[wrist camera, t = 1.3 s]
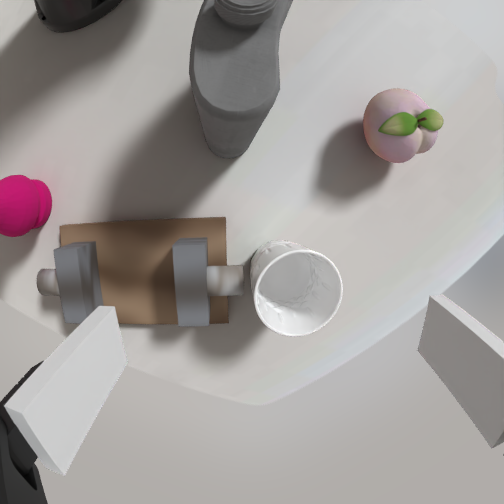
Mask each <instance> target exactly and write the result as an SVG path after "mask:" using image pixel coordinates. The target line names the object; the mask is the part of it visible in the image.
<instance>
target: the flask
mask: <svg viewBox="0 0 504 504" xmlns="http://www.w3.org/2000/svg"><path fill="white" fill-rule="evenodd" d="M292 1H293V0H204V2H203V4H202V6H201V9H200V12H199V15H198V18H197V21H196V24H195V28H194V33H193V37H192V44H191V51H190V65H189V75H190V80H191V86H192V90H193V94H194V98H195V102H196V105H197V109H198V113H199V117H200V120H201V124H202V128H203V131H204V135H205V139H206V142H207V144H208V146H209V149H210V150H211V151H212V152H213V153H214V154H215V155H217V156H220V157H223V158H234V157H237V156H240V155H242V154H243V153H244V152H245V151H246V150H247V149H248V147H249V145H250V144H251V142H252V140H253V138H254V137H255V135H256V133H257V132H258V130H259V128H260V126H261V125H262V123H263V121H264V119H265V118H266V116H267V114H268V113H269V111H270V109H271V108H272V106H273V104H274V102H275V100H276V97H277V95H278V92H279V90H280V77H279V56H278V50H279V37H280V31H281V28H282V26H283V23H284V21H285V18H286V16H287V13H288V11H289V9H290V6H291V4H292Z"/></svg>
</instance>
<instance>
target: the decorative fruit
mask: <svg viewBox="0 0 504 504" xmlns="http://www.w3.org/2000/svg"><path fill="white" fill-rule="evenodd" d="M442 125H443V118H442V116H441V115H440V114H439V113H438V112H437V111H435V110H432V109H430V108H429V107H428V105H427V104H426V103H425V102H424V101H423V100H422V99H421V98H420V97H419V96H418V95H417V94H415V93H413V92H411V91H408V90H405V89H389V90H386V91H383V92H380V93H378V94H377V95H375V96H374V97H373V98H372V99H371V100H370V102H369V103H368V105H367V107H366V110H365V113H364V119H363V127H364V135H365V138H366V141H367V143H368V145H369V147H370V148H371V149H372V151H373V152H374V153H375V154H376V155H378V156H379V157H380V158H382V159H384V160H386V161H389V162H393V163H402V162H406V161H408V160H410V159H411V158H412V157H413V156H414V155H415V154H419V153H424V152H426V151H428V150H429V149H430V148H431V147H432V146H433V145H434V143H435V141H436V139H437V134H438V130H439V129H440V128H441V127H442Z"/></svg>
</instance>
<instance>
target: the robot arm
mask: <svg viewBox="0 0 504 504" xmlns="http://www.w3.org/2000/svg"><path fill="white" fill-rule="evenodd" d="M121 1H122V0H34V2H35V6H36V9H37V13H38V16H39V19H40V20H41V22H42V23H43V24H44V25H45V26H47V27H48V28H49V29H50V30H52V31H56V32H67V31H72V30H76V29H79V28H82V27H84V26H86V25H89V24H91V23H93V22H94V21H96V20H98V19H99V18H101V17H103V16H104V15H106V14H107V13H108V12H110V11H111V10H112V9H113V8H114V7H116V6H117V5H118V4H119V3H120V2H121ZM418 351H419V353H420V354H421V355H422V356H423V358H424V359H425V360H426V361H427V363H428V364H429V365H430V366H431V368H432V369H433V370H434V371H435V373H436V374H437V375H438V376H439V378H440V379H441V380H442V381H443V383H444V384H445V385H446V386H447V388H448V389H449V391H450V392H451V393H452V394H453V396H454V397H455V398H456V400H457V401H458V402H459V404H460V405H461V406H462V408H463V409H464V410H465V412H466V413H467V414H468V416H469V417H470V419H471V420H472V421H473V423H474V424H475V425H476V427H477V428H478V430H479V431H480V432H481V434H482V435H483V437H484V438H485V440H486V441H487V442H488V444H489V445H490V447H491V448H494V447H495V446H497V445H499V444H501V443H503V442H504V342H503V341H502V340H501V339H499V338H498V337H497V336H496V335H494V334H493V333H492V332H491V331H489V330H488V329H487V328H486V327H485V326H483V325H482V324H481V323H480V322H478V321H477V320H476V319H475V318H473V317H472V316H471V315H469V314H468V313H467V312H465V311H464V310H463V309H462V308H460V307H459V306H458V305H456V304H455V303H454V302H452V301H451V300H450V299H448V298H447V297H446V296H444V295H435V296H430V298H429V303H428V309H427V313H426V318H425V322H424V326H423V331H422V335H421V339H420V343H419V347H418ZM127 363H128V359H127V356H126V352H125V348H124V344H123V340H122V336H121V332H120V328H119V324H118V319H117V315H116V310H115V306H98V307H97V308H96V309H95V310H94V311H93V312H92V313H91V314H90V315H89V316H88V317H87V318H86V319H85V320H84V321H83V322H82V323H81V324H80V325H79V326H78V327H77V328H76V329H75V330H74V331H73V332H72V333H71V334H70V335H69V336H68V337H67V338H66V339H65V340H64V341H63V342H62V343H61V344H60V345H59V346H58V347H57V348H56V349H55V350H54V351H53V352H52V353H51V354H50V355H49V357H48V358H47V359H46V360H45V361H42V362H40V363H39V364H37V365H35V366H34V367H32V368H31V369H30V370H29V371H28V372H27V373H26V374H25V375H24V378H22V379H21V380H20V381H19V382H18V384H16V385H15V386H14V388H13V389H12V390H11V391H10V392H9V393H8V394H7V395H6V397H4V398H3V400H2V401H1V402H0V504H48V503H47V500H46V497H45V493H44V490H43V486H42V483H41V479H40V475H39V471H38V469H37V467H36V465H35V464H34V462H35V461H36V459H37V458H39V459H40V461H41V462H42V463H43V465H44V466H45V467H46V468H47V469H49V470H51V471H54V472H56V473H59V474H62V475H65V474H66V472H67V470H68V468H69V466H70V464H71V463H72V461H73V459H74V457H75V455H76V453H77V451H78V449H79V447H80V446H81V444H82V442H83V440H84V438H85V436H86V434H87V433H88V431H89V429H90V427H91V425H92V424H93V422H94V420H95V418H96V416H97V415H98V413H99V411H100V409H101V408H102V406H103V404H104V402H105V400H106V399H107V397H108V395H109V394H110V392H111V390H112V388H113V387H114V385H115V383H116V382H117V380H118V378H119V376H120V374H121V373H122V371H123V370H124V368H125V366H126V365H127Z"/></svg>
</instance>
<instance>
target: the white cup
mask: <svg viewBox="0 0 504 504" xmlns="http://www.w3.org/2000/svg"><path fill="white" fill-rule="evenodd" d="M250 280H251V288H252V294H253V299H254V305H255V309H256V312H257V314H258V316H259V318H260V319H261V321H262V322H263V323H264V324H265V325H266V326H267V327H268V328H269V329H270V330H272V331H274V332H276V333H278V334H280V335H284V336H290V337H298V336H305V335H308V334H311V333H313V332H316V331H317V330H319V329H321V328H322V327H324V326H325V325H326V324H327V323H328V322H329V321H330V320H331V319H332V318H333V316H334V315H335V313H336V312H337V310H338V308H339V305H340V302H341V299H342V292H343V286H342V280H341V276H340V273H339V271H338V269H337V268H336V266H335V265H334V264H333V262H332V261H331V260H329V259H328V258H327V257H326V256H324V255H322V254H320V253H318V252H316V251H313V250H311V249H309V248H307V247H305V246H302V245H300V244H296V243H294V242H288V241H285V240H275V241H269V242H267V243H266V244H264V245H263V246H261V247H260V248H259V249H257V251H256V253H255V254H254V256H253V258H252V260H251V266H250Z"/></svg>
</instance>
